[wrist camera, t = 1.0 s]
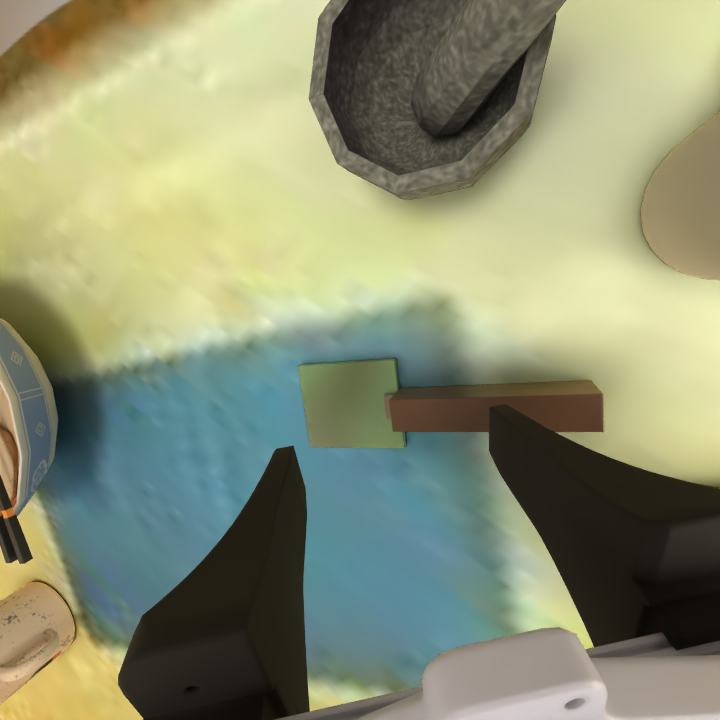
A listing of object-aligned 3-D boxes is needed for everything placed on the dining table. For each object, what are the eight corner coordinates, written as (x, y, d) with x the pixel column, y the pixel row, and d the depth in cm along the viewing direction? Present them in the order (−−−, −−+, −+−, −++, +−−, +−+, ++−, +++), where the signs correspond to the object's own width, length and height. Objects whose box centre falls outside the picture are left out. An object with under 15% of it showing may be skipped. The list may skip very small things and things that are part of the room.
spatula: (590, 344, 22) (601, 353, 19) (594, 448, 23) (605, 469, 20) (301, 363, 28) (280, 372, 26) (313, 444, 29) (294, 460, 26)
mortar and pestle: (370, 226, 25) (260, 185, 14) (350, 60, 23) (208, -138, 12) (574, 187, 21) (655, 82, 10) (566, -17, 19) (650, -422, 8)
